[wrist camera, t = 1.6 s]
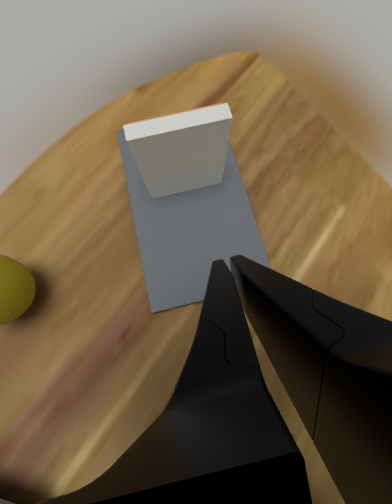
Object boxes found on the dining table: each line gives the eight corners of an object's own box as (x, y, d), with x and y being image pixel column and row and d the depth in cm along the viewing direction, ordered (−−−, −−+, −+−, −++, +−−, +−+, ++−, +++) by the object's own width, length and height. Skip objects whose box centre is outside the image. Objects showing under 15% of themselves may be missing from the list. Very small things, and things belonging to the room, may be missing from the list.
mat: (272, 283, 22) (275, 282, 21) (153, 313, 21) (151, 312, 20) (218, 114, 26) (218, 108, 25) (119, 135, 26) (116, 130, 25)
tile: (221, 182, 23) (232, 117, 15) (151, 198, 23) (126, 140, 15) (217, 169, 24) (226, 99, 16) (148, 185, 23) (122, 121, 16)
